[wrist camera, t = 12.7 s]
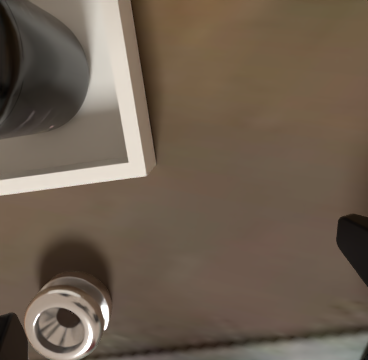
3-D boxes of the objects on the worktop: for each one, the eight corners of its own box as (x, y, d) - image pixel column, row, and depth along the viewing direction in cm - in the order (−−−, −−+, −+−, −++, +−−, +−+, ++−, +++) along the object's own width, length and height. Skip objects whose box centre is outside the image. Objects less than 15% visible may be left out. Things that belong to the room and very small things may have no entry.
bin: (156, 164, 21) (146, 175, 17) (-34, 190, 22) (-84, 206, 18) (121, -58, 19) (100, -102, 15) (-90, -19, 20) (-160, -51, 16)
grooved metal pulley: (87, 349, 24) (126, 297, 23) (72, 381, 21) (115, 324, 20) (28, 310, 24) (65, 256, 23) (4, 337, 21) (45, 277, 20)
